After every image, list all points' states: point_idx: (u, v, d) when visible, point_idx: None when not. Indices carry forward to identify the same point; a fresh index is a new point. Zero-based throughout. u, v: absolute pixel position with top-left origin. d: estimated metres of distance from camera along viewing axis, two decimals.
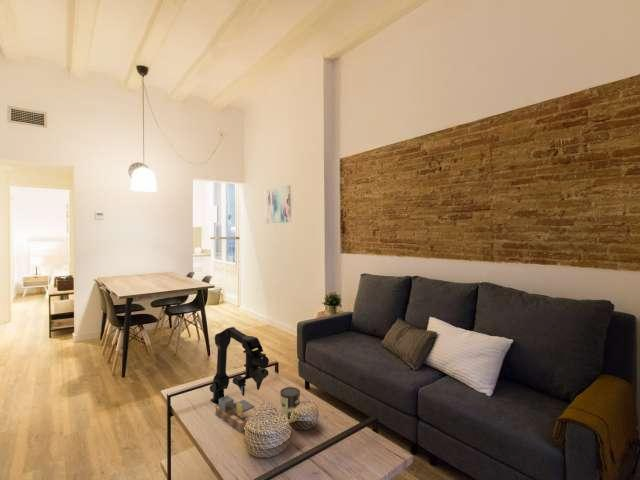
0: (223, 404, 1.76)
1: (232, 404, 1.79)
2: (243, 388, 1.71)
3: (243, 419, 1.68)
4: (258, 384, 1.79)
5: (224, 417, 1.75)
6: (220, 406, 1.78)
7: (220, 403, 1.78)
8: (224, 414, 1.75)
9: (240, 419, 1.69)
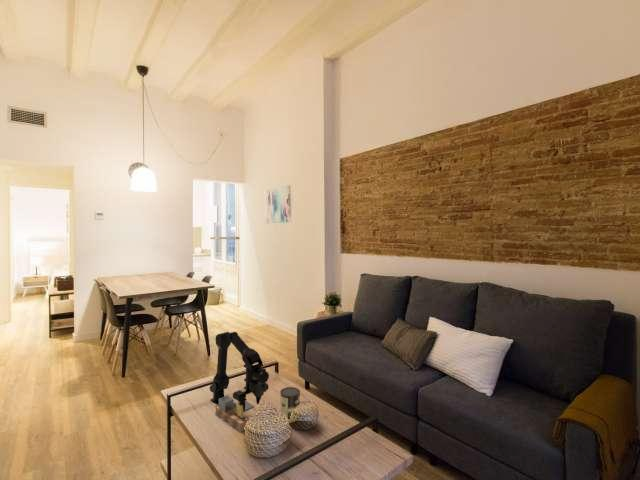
0: (223, 404, 1.76)
1: (232, 404, 1.79)
2: (244, 403, 1.71)
3: (243, 419, 1.68)
4: (258, 398, 1.79)
5: (224, 417, 1.75)
6: (220, 406, 1.78)
7: (220, 403, 1.78)
8: (224, 414, 1.75)
9: (240, 419, 1.69)
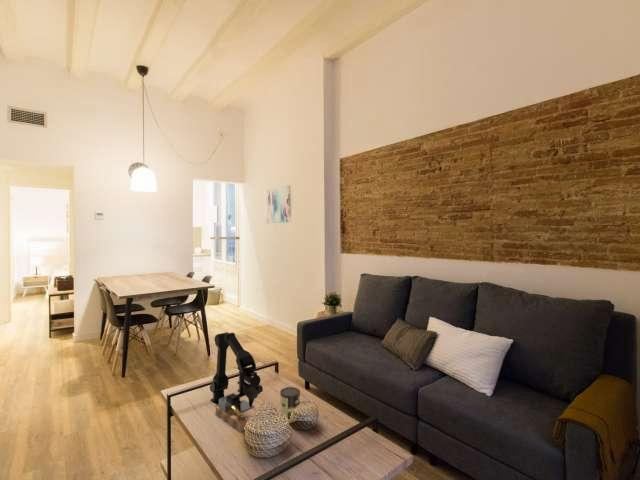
0: (223, 404, 1.76)
1: None
2: (239, 405, 1.69)
3: (243, 419, 1.68)
4: (250, 401, 1.76)
5: (224, 417, 1.75)
6: (220, 406, 1.78)
7: (220, 403, 1.78)
8: (224, 414, 1.75)
9: (240, 419, 1.69)
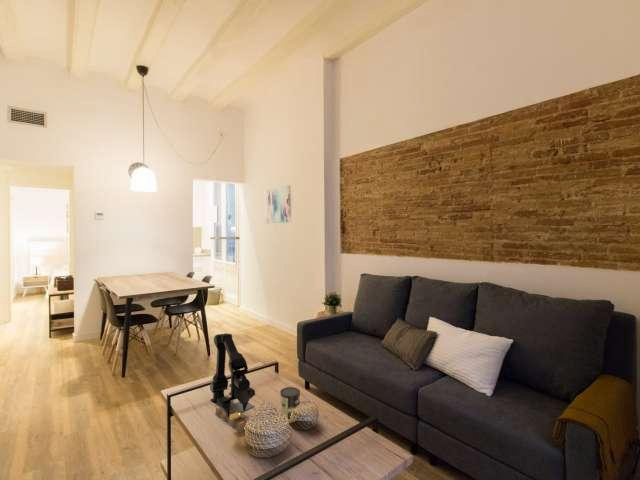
0: None
1: (232, 404, 1.79)
2: (228, 410, 1.64)
3: (243, 419, 1.68)
4: (244, 404, 1.73)
5: (224, 417, 1.75)
6: None
7: None
8: (224, 414, 1.75)
9: (240, 419, 1.69)
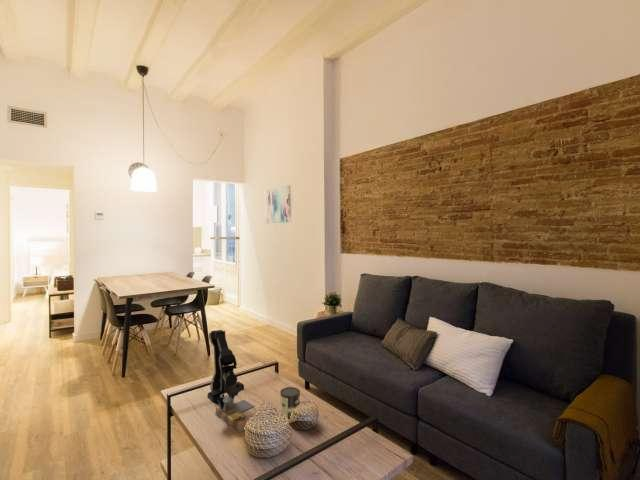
0: (223, 404, 1.76)
1: (232, 404, 1.79)
2: (221, 402, 1.75)
3: (243, 419, 1.68)
4: None
5: (224, 417, 1.75)
6: None
7: None
8: (224, 414, 1.75)
9: (240, 419, 1.69)
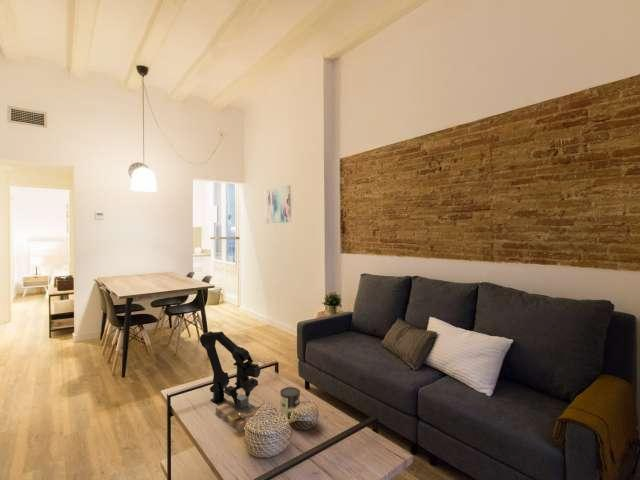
0: (239, 402, 1.86)
1: (247, 402, 1.88)
2: (236, 397, 1.84)
3: (243, 419, 1.68)
4: (247, 394, 1.91)
5: (224, 417, 1.75)
6: None
7: None
8: (224, 414, 1.75)
9: (240, 419, 1.69)
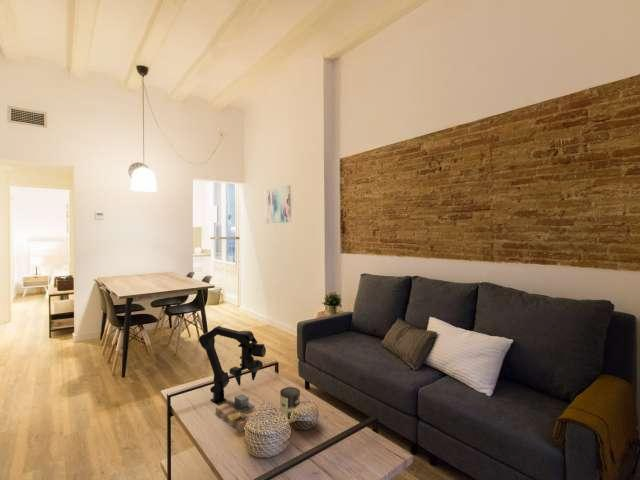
0: (239, 402, 1.86)
1: (247, 402, 1.88)
2: (239, 378, 1.85)
3: (243, 419, 1.68)
4: (253, 375, 1.94)
5: (224, 417, 1.75)
6: (236, 403, 1.88)
7: (236, 401, 1.88)
8: (224, 414, 1.75)
9: (240, 419, 1.69)
